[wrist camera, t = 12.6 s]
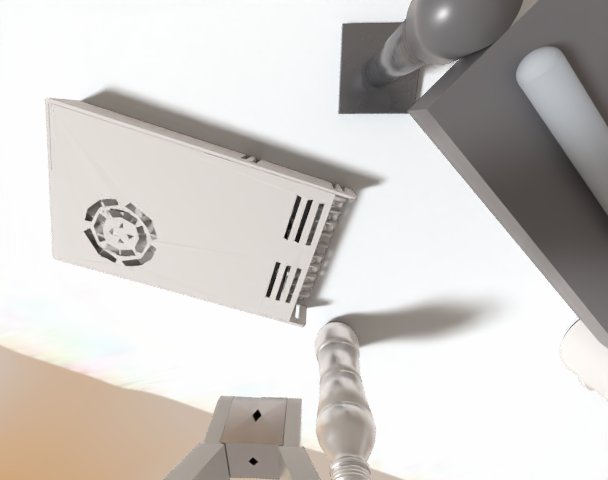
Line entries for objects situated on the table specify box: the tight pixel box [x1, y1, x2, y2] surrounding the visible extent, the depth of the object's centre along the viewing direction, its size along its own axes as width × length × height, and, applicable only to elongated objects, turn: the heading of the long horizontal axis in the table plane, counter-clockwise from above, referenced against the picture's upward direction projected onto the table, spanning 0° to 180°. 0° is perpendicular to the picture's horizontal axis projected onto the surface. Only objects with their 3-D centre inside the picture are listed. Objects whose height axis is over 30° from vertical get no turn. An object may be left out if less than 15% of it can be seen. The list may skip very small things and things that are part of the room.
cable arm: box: [406, 0, 608, 348], centre depth 15 cm, size 28×8×5 cm, turn 46°
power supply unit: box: [45, 98, 357, 327], centre depth 35 cm, size 19×33×5 cm, turn 72°
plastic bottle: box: [315, 322, 376, 480], centre depth 34 cm, size 6×7×20 cm
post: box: [338, 19, 428, 114], centre depth 22 cm, size 8×8×16 cm
